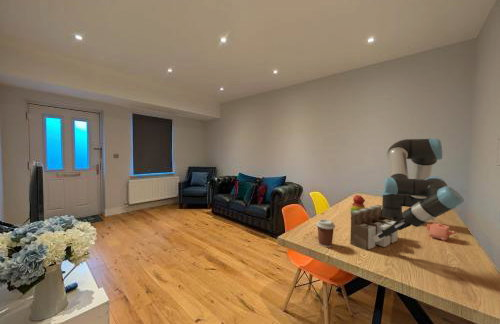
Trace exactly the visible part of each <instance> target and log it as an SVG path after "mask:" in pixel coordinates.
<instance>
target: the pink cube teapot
mask: <svg viewBox="0 0 500 324" xmlns="http://www.w3.org/2000/svg"><path fill="white" fill-rule="evenodd" d="M450 229H451V228H450V225H445V224H442V223H435V222H433V223H432V224H430V223H427V224H426V231H429V237H430V238H432V239H438V240H439V239H440V240H441V241H442V242H446V241H447V240H448V239H449V238H450V236H452V235H456V234H457V232H456V231H455V230H452V231H450Z"/></svg>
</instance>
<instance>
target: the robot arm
mask: <svg viewBox="0 0 500 324" xmlns="http://www.w3.org/2000/svg"><path fill="white" fill-rule="evenodd" d="M386 152H387V153H386V154H387V155H386V157H387V160H389V162H388V163H389V164H388V165H389V166H388V167H389V168H388V169H389V172H388V173H389V177H385V179H384V188H383V190H382V203H381V204H382V205H381V206H382V207H381V216H384V217H388V218H393V221H395V223H394V224H393V225H392V226H390V227H389V228H387V229H385V230H383V229H382V230H381V231H382V232H380V233H379V234H377V235H375V236H374V237H372V238H373V239H374V240H375V242H378V241H380V240H382V239H384V238H385V237H387V236H388V235H389V236H392V235H391V234H393V233H394V232H396V231H398V232H399V231H401V230H403V229H407V228H408V227H410V226H413V227H415V228H418V227H421V226H423V225H424V224H426V223H428V222H431V220H432V221H433V222H434V221H435V220H436V218H437V217H439V216H441V215H444V214H445V213H447V212H449V211H451V210H454V209H456V207H458V206H460V205H461V204H463V203H464V198H463V196H462V195H461V193H459V192H458V191H457V190H456V189H455V188H452V187H451V186H448V184H447V182H446V181H445V179H443V178H441V177H439V176H435V175H434V176H432V175H431V174H432V170H433V165H436V163H437V162H438V160H439V161H440V160H442V159H443V145H442V142H441V139H439V138H410V139H409V138H405V139H400V140H397V141H395V142H394V143H393V144H392V145H391V146H390V147H389V148H388V150H387V151H386ZM407 160H410V161H411V162H412V163H413V166H412V173H411V175H412V176H411V178H409V168H408V164H407V162H408V161H407ZM403 207H406V208H407V209H405V210H403Z"/></svg>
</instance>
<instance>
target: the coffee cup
mask: <svg viewBox="0 0 500 324" xmlns="http://www.w3.org/2000/svg"><path fill="white" fill-rule="evenodd" d="M315 226H316V227H317V235H318V236H317V237H318V245H320V247H321V246H322V247H325V248H330V247H332V246H333V237H334V230H335V228H336V225H335V224H334V222H333V221H332V220H330V219H319V220H318V221H317V222H316V225H315Z"/></svg>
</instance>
